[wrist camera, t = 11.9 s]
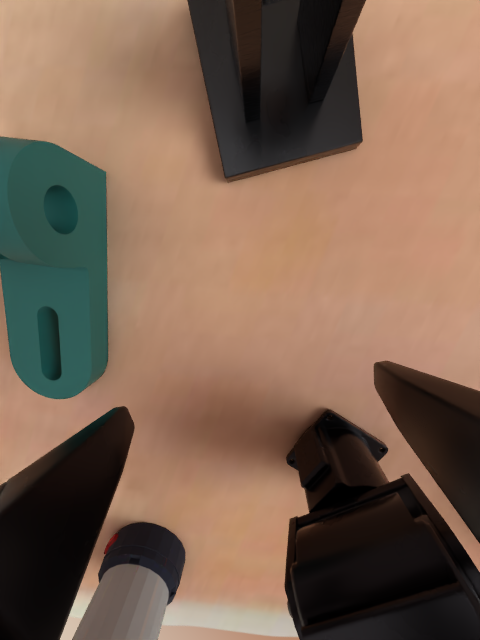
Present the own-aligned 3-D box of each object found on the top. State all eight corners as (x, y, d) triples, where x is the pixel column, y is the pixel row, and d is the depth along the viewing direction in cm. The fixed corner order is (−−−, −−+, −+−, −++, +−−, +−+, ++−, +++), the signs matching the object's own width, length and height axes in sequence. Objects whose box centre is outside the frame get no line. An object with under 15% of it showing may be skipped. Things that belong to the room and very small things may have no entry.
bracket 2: (356, 149, 17) (478, 14, 8) (227, 183, 18) (192, 103, 9) (337, -40, 15) (477, -565, 5) (191, 13, 16) (91, -347, 6)
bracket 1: (18, 161, 19) (-146, 97, 11) (106, 172, 19) (-1, 113, 11) (37, 379, 23) (-71, 439, 16) (108, 390, 23) (34, 456, 15)
